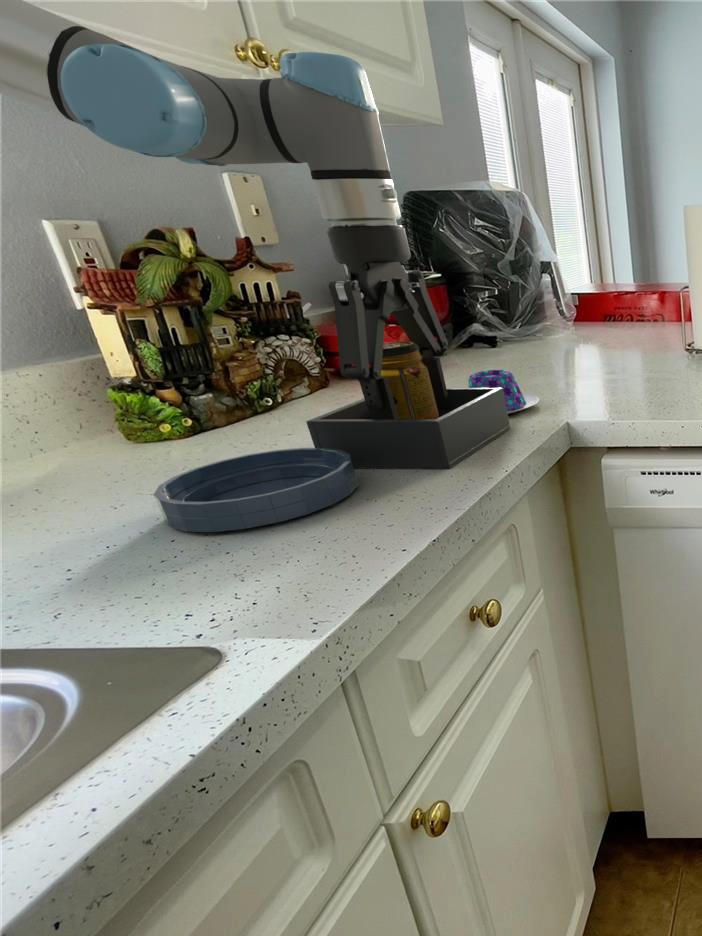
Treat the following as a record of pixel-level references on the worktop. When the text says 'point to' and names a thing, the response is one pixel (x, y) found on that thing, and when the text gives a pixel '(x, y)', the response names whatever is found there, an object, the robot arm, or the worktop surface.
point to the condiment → (408, 381)
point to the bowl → (256, 489)
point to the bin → (415, 432)
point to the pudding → (510, 388)
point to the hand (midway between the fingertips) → (415, 420)
